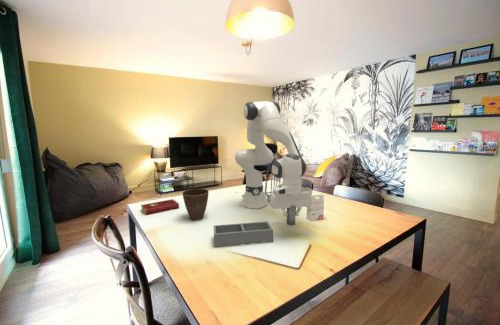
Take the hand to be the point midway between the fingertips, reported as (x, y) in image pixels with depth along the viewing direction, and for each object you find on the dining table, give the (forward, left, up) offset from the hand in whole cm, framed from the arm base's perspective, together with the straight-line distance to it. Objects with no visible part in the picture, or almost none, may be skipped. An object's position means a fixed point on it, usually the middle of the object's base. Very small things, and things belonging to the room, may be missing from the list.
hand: (291, 215), depth 114 cm
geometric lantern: (-57, +9, -10) cm, 58 cm away
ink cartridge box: (-18, +21, -10) cm, 29 cm away
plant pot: (-32, -47, -10) cm, 58 cm away
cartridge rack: (0, -24, -10) cm, 26 cm away
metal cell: (0, 0, -4) cm, 4 cm away
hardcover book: (-52, -71, -11) cm, 89 cm away
